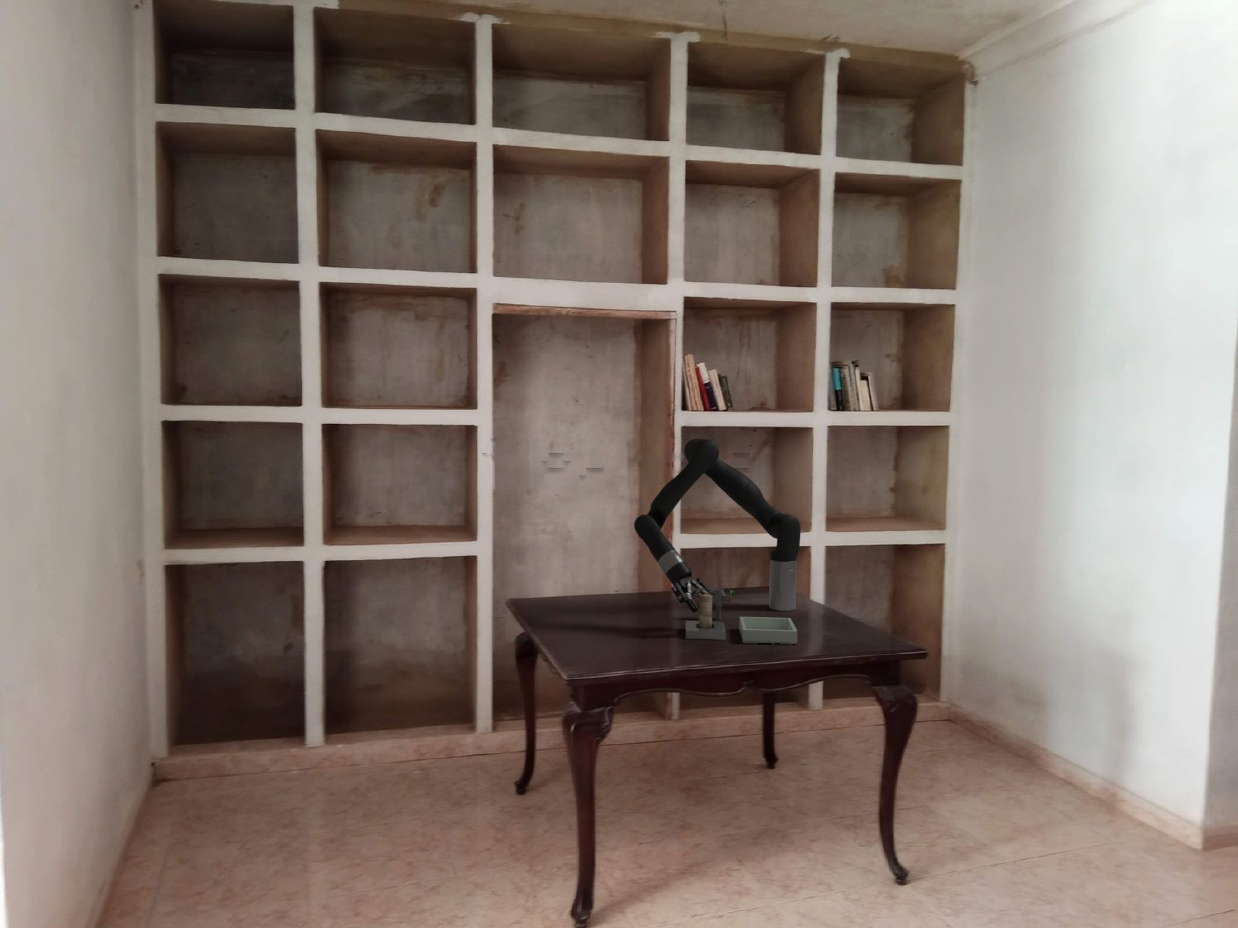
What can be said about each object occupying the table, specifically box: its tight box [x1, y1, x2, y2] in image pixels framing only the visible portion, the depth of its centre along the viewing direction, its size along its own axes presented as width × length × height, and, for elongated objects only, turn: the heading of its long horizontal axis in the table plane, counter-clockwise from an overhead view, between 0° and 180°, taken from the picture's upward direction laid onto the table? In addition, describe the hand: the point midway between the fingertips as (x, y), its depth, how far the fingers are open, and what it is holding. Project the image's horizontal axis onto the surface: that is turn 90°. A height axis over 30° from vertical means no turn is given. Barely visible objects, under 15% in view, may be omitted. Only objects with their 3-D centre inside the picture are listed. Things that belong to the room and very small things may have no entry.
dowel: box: [698, 594, 713, 629], centre depth 263 cm, size 4×4×12 cm
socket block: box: [685, 620, 727, 641], centre depth 264 cm, size 12×12×2 cm
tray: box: [738, 616, 798, 645], centre depth 261 cm, size 16×16×4 cm
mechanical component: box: [703, 587, 736, 620], centre depth 282 cm, size 3×10×10 cm, turn 79°
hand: (704, 608), depth 264 cm, fingers open, 8 cm apart
